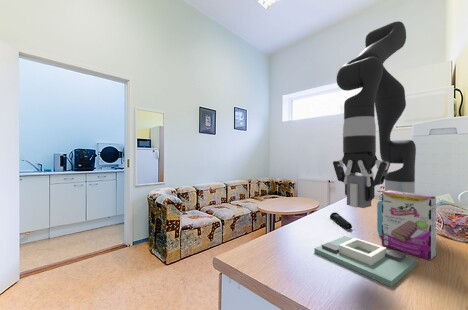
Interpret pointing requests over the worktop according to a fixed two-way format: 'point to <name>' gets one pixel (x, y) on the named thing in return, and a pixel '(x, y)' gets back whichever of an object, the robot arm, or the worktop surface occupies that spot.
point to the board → (368, 259)
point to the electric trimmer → (340, 220)
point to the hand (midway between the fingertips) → (358, 198)
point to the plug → (356, 191)
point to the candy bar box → (409, 223)
